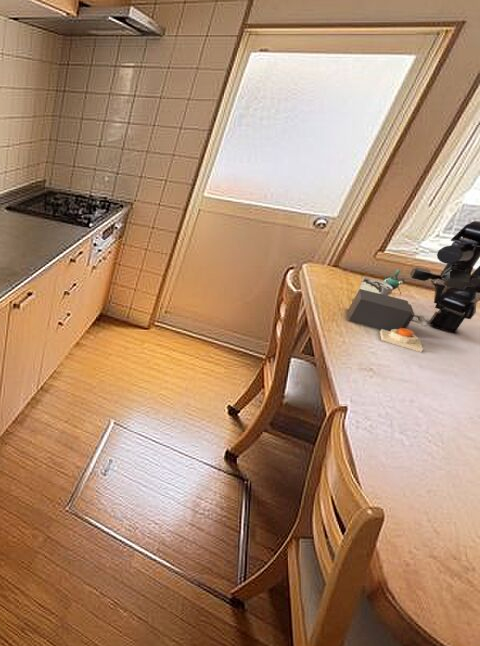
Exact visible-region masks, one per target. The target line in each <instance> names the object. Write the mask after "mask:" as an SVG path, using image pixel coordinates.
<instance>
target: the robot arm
mask: <svg viewBox="0 0 480 646" xmlns="http://www.w3.org/2000/svg"><path fill="white" fill-rule="evenodd" d="M450 241H451V242H452V243H451V245H446V246H443V247H442V248H440V249H439V250H438V251H437V253H436V257H437V259H438V261H439V262H440V263H443V264H446V265H445V267H444V268H443V270H441V272H440V274H437V273H433V272H431V270H430V269H427V268H421V267H418V266H416V267H413V268H412V269H411V271H410V273H409V274H410V278H412V279H414V280H418V281H422V282H425V281H429V280H430V283H431V284H432V286H434V297H433V303H434V304H435V306H434V308H435V309H438V310H437V311H435V312H434V314H432V316H431V318H430V319H429V323H430V325H431V327H432V328H435V329H439V330H442V331H445V332H450V333H454V334H458V331H457V330H458V329H459V328H460V326H461V324H462V323H463V322H464V320H465V319H467V320H471V319H472V318H473V317H474V316H475V314H476V312H477V304H478V302H479V300H480V299H479V298H480V297H479V296H480V265H479V266H478V267H477V268H476V269H475V270H474V267H475V265H476V264H477V262H478V260H479V259H480V220H474V221H471V222H470V223H467V224H466V225H464V227H462V228H461V229H460V230H459V231H458V232H457V233H456V234H455V235H454V236H453V237H452V238H451V239H450ZM473 270H474V271H473Z"/></svg>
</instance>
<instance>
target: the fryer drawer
mask: <svg viewBox="0 0 480 646" xmlns="http://www.w3.org/2000/svg"><path fill="white" fill-rule="evenodd" d="M409 306H410V309H411V312H412V313H411V314H410V316H409V318H408V319H407V321H406V322H405V324H404V325H403V327H402V328H405V329H408V327H409V326H410V324H411V322H413V323H416V324H420V326H422V327H423V326H424V327H425V326H427V322H426V319H425V316H424V315H422V314H419V315H417V314H415V312H414V310H413V306H412V304H410V303H409ZM414 318H417V319H418V320H417V319H414Z"/></svg>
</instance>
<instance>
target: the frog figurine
mask: <svg viewBox="0 0 480 646" xmlns="http://www.w3.org/2000/svg"><path fill="white" fill-rule="evenodd" d="M400 272H401V270H400V269H397V270H396V272H395V273H394V275H390V276H384V278H383V279H384V280H383V281H382V282H384V283H386V284H389V285H390V286H392V289H393V290H396V289H398V291H399V294H400V295H402V291H401V289H400V286H401V285H403V283H405V279H404V278H400V280H399V277H398V276H399V274H400ZM393 290H392V291H393ZM387 296H389V295H387Z"/></svg>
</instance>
